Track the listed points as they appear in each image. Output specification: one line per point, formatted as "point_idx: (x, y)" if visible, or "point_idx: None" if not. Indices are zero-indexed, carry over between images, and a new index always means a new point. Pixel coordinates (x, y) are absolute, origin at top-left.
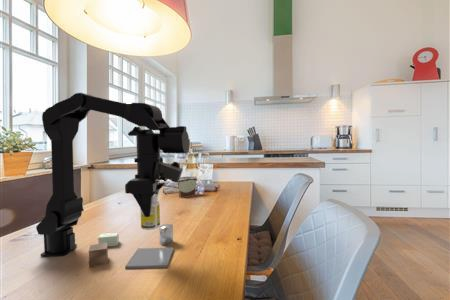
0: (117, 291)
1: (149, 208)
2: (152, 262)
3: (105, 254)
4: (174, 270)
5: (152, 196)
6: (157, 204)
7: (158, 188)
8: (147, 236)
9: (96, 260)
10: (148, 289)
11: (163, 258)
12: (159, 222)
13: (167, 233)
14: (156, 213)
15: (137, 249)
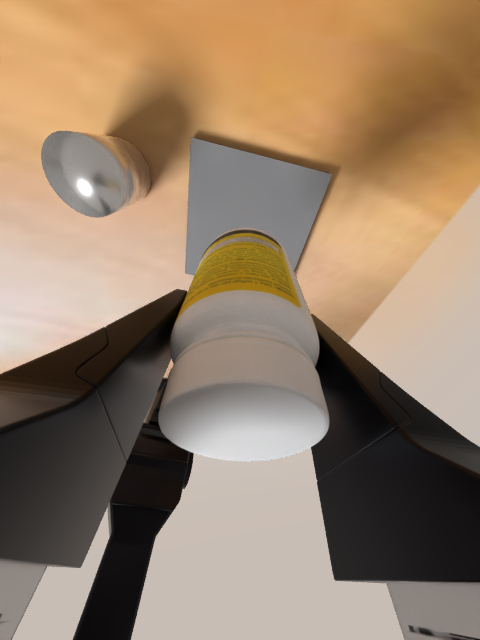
0: (375, 293)
1: (351, 352)
2: (292, 226)
3: None
4: (363, 143)
5: (421, 437)
6: (292, 309)
7: (44, 441)
8: (73, 248)
9: None
10: (416, 230)
11: (279, 187)
12: (260, 236)
13: (127, 169)
14: (293, 280)
15: (192, 273)
